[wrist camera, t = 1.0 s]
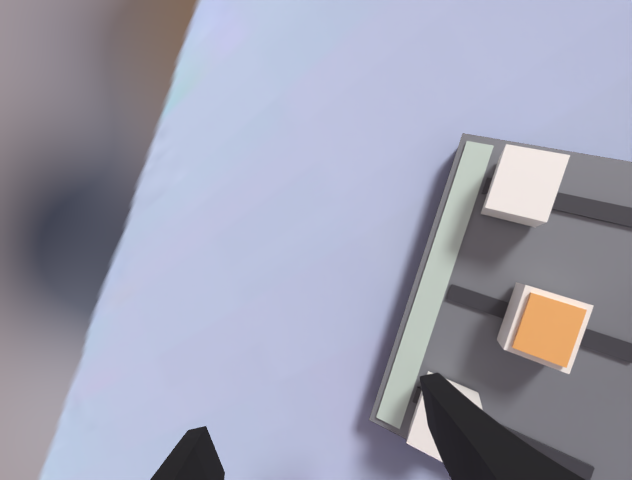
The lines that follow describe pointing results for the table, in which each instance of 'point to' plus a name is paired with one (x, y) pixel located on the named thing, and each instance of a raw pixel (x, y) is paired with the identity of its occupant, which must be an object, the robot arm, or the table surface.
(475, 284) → the breaker panel
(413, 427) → the lever
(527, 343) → the lever
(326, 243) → the table surface
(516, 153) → the lever
